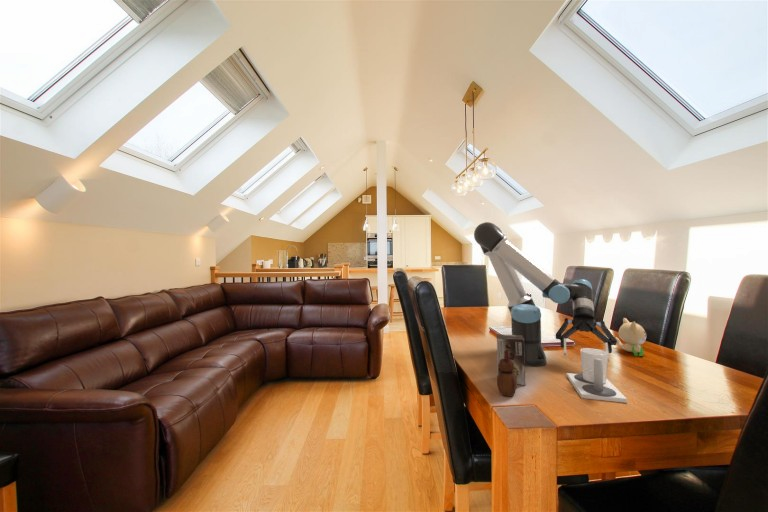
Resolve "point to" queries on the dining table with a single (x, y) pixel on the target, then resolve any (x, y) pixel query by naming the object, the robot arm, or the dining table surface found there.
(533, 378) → the dining table surface
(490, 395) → the dining table surface
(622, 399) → the board
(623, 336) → the kitten
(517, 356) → the coffee box
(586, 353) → the white cup
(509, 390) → the wooden figurine
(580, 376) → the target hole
